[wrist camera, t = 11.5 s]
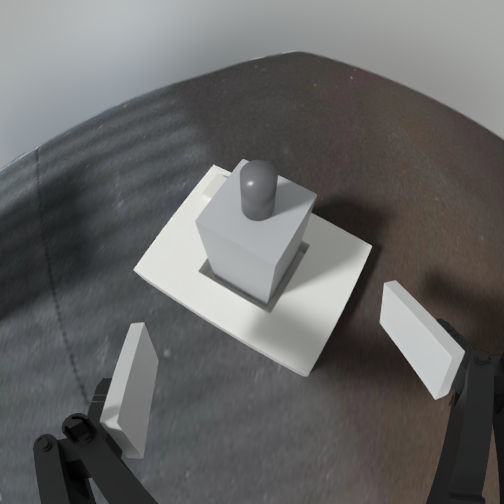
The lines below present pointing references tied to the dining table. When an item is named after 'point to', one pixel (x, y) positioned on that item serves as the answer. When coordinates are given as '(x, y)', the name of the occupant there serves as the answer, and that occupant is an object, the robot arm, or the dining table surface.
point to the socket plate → (244, 307)
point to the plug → (254, 228)
